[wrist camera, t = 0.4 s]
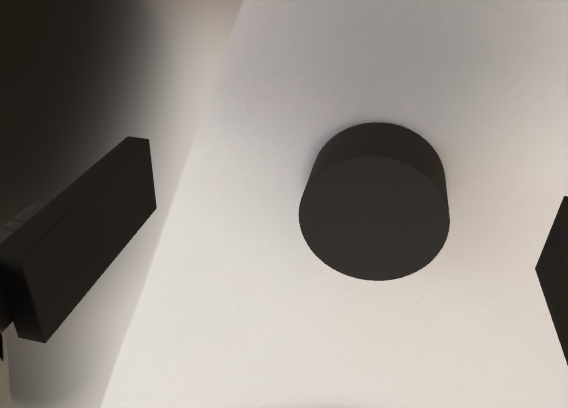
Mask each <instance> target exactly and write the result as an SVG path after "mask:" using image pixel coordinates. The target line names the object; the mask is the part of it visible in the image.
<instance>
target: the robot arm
mask: <svg viewBox="0 0 568 408" xmlns="http://www.w3.org/2000/svg"><path fill="white" fill-rule="evenodd" d="M156 208H157V207H156V198H155V190H154V181H153V172H152V163H151V154H150V145H149V139H143V138H136V137H127V138H125V139H124V140H123V141H122V142H121V143H119V144H118V145H117V146H116V147H115V148H113V149H112V150H111V151H110V152H109V153H107V154H106V155H105V156H104V157H103V158H102V159H100V160H99V161H98V162H97V163H95V164H94V165H93V166H92V167H91V168H90V169H88V170H87V171H86V172H85V173H84V174H82V175H81V176H80V177H79V178H78V179H76V180H75V181H74V182H73V183H72V184H71V185H69V186H68V187H67V188H66V189H64V190H63V191H62V192H61V193H60V194H59V195H57V196H56V197H55V198H54V199H52V200H51V201H50V202H49V201H42V202H40V203H37V204H35V205H33V206H31V207H29V208H27V209H25V210H24V211H23V212H21V213H20V214H19V215H18V216H17V217H15V218H14V219H13V221H10V222H9V223H8V224H6V225H5V226H4V227H3V230H1V229H0V408H11V397H10V386H9V373H8V360H7V347H6V340H5V337H4V334H3V331H4V330H5V329H6V328H7V327H8V326H9V325H10V323H11V322H12V321H13V322H14V325H15V328H16V331H17V334H18V337H19V338H23V339H28V340H33V341H38V342H42V343H46V342H47V341H48V339H49V338H50V337H51V336H52V335H53V333H54V332H55V331H56V330H57V329H58V327H59V326H60V325H61V324H62V322H63V321H64V320H65V319H66V318H67V316H68V315H69V314H70V313H71V312H72V310H73V309H74V308H75V307H76V306H77V304H78V303H79V302H80V301H81V299H82V298H83V297H84V296H85V295H86V293H87V292H88V291H89V290H90V289H91V287H92V286H93V285H94V284H95V282H96V281H97V280H98V279H99V277H100V276H101V275H102V274H103V273H104V271H105V270H106V269H107V268H108V267H109V265H110V264H111V263H112V262H113V261H114V259H115V258H116V257H117V256H118V254H119V253H120V252H121V251H122V249H123V248H124V247H125V246H126V245H127V243H128V242H129V241H130V240H131V239H132V237H133V236H134V235H135V234H136V233H137V231H138V230H139V229H140V228H141V227H142V225H143V224H144V223H145V222H146V220H147V219H148V218H149V217H150V215H151V214H152V213H153V212H154V211H155V210H156ZM535 270H536V273H537V276H538V279H539V282H540V285H541V288H542V291H543V294H544V297H545V299H546V302H547V305H548V308H549V311H550V314H551V317H552V320H553V323H554V326H555V329H556V332H557V335H558V338H559V341H560V344H561V347H562V350H563V353H564V356H565V359H566V362H567V365H568V196H564V198H563V200H562V203H561V205H560V208H559V210H558V213H557V215H556V218H555V220H554V223H553V225H552V228H551V230H550V233H549V235H548V238H547V240H546V243H545V245H544V248H543V250H542V253H541V255H540V258H539V260H538V263H537V265H536V268H535Z"/></svg>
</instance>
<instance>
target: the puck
mask: <svg viewBox="0 0 568 408" xmlns="http://www.w3.org/2000/svg"><path fill="white" fill-rule="evenodd" d="M299 223H300V228H301V231H302V234H303V237H304V239H305V241H306V242H307V244H308V246H309V247H310V249H311V250H312V251H313V253H314V254H315V255H316V256H317V257H318V258H319V259H320V260H321V261H323V262H324V263H325V264H327V265H328V266H329V267H331V268H333V269H334V270H336V271H338V272H340V273H343V274H345V275H348V276H351V277H354V278H358V279H363V280H372V281H384V280H393V279H397V278H402V277H405V276H407V275H410V274H412V273H414V272H417V271H419V270H420V269H422V268H423V267H425V266H426V265H427V264H429V263H430V262H431V261H432V260H433V259H434V258H435V257H436V256H437V255H438V253H439V252H440V250H441V249H442V247H443V245H444V243H445V241H446V239H447V236H448V232H449V225H450V217H449V207H448V198H447V189H446V181H445V173H444V169H443V165H442V163H441V160H440V158H439V156H438V155H437V153H436V152H435V150H434V149H433V148H432V146H431V145H430V144H429V143H428V142H427V141H426V140H425V139H423V138H422V137H421V136H419V135H418V134H416V133H414V132H413V131H411V130H409V129H406V128H404V127H401V126H397V125H394V124H388V123H366V124H361V125H357V126H353V127H351V128H348V129H346V130H344V131H342V132H340V133H338V134H337V135H336V136H334V137H333V138H332V139H331V140H329V141H328V142H327V143H326V144H325V146H324V147H323V148H322V149H321V151H320V153H319V154H318V156H317V158H316V161H315V163H314V166H313V168H312V171H311V174H310V176H309V179H308V182H307V185H306V187H305V190H304V193H303V195H302V198H301V202H300V206H299Z"/></svg>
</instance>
